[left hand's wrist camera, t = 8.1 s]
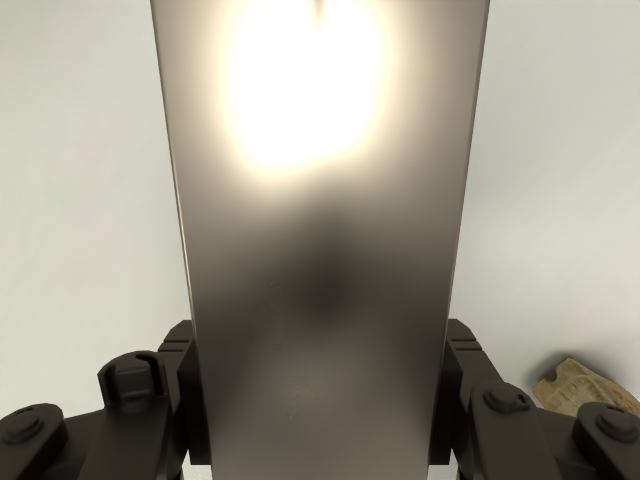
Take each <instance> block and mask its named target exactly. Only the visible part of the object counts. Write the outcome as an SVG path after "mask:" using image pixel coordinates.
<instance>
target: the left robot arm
mask: <svg viewBox="0 0 640 480" xmlns="http://www.w3.org/2000/svg"><path fill="white" fill-rule="evenodd" d="M97 376H98V380H99V384H100V388H101V392H102V396H103V401H104V405H105V407H104V409H101V410H98V411H95V412H91V413H87V414H82V415H78V416H74V417H69V418H65V419H64V416H63V412H62V410H61V409H60V408H59V407H58V406H57V405H54V404H48V403H43V404H35V405H31V406H28V407H25V408H22V409H19V410H17V411H15V412H13V413H11V414H9V415H7V416H6V417H4V418H2V419H1V420H0V480H184V477H183V470H182V464H183V461H184V459H185V456H186V453H187V451H188V450H189V456H190V463H191V465H211V463H210V455H209V448H208V440H207V433H206V425H205V417H204V410H203V402H202V394H201V387H200V379H199V371H198V364H197V356H196V348H195V341H194V333H193V325H192V320H183V321H182V322H180V323H179V324H177V325H176V326H175V327H173V328H172V329H171V330H170V331H169V333H168V334H167V336H166V338H165V339H164V342H163V343H162V344H161V345H160V347H159V348H158V352H153V351H135V352H131V353H126V354H123V355H121V356H119V357H117V358H114V359H113V360H111V361H110V362H108V363H107V364H106V365H104V366H103V367H102V369H101V370H100V371H99V373H98V374H97ZM451 448H452V449H453V452H454V455H455V457H456V460H457V463H458V470H457V476H456V480H640V418H639V417H637V416H636V415H634V414H632V413H630V412H629V411H627V410H625V409H623V408H620V407H617V406H614V405H611V404H608V403H602V402H588V403H584V404H583V405H581V406H580V407H579V408H578V411H577V414H576V417H573V416H569V415H564V414H560V413H556V412H551V411H547V410H544V409H541V408H537V407H536V406H535V404H534V403H533V401H532V400H531V398H530V397H529V396H528V395H527V394H526V393H525V392H523V391H522V390H521V389H519V388H517V387H515V386H513V385H511V384H509V383H506V382H504V381H503V380H502V378H501V377H500V375H499V374H498V372H497V370H496V369H495V367H494V366H493V364H492V363H491V361H490V360H489V358H488V357H487V355H486V353H485V352H484V351H482V347H481V346H480V344H479V343H478V341H476V338H475V336H474V335H473V333H472V332H471V330H470V329H469V328H468V327H467V326H465V325H464V324H463V323H461V322H460V321H459V320H457V319H448V324H447V331H446V339H445V347H444V354H443V362H442V369H441V377H440V384H439V392H438V400H437V407H436V415H435V422H434V430H433V438H432V445H431V453H430V460H429V465H449V461H450V454H451Z"/></svg>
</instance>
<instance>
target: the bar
mask: <svg viewBox="0 0 640 480" xmlns="http://www.w3.org/2000/svg"><path fill="white" fill-rule="evenodd" d="M150 4H151V12H152V19H153V27H154V35H155V42H156V50H157V58H158V65H159V73H160V81H161V88H162V96H163V104H164V111H165V119H166V127H167V134H168V142H169V150H170V157H171V165H172V172H173V180H174V188H175V195H176V203H177V211H178V218H179V226H180V234H181V241H182V249H183V257H184V264H185V272H186V280H187V287H188V295H189V302H190V310H191V318H192V325H193V333H194V341H195V348H196V356H197V364H198V371H199V379H200V387H201V394H202V402H203V410H204V417H205V425H206V433H207V440H208V448H209V455H210V463H211V471H212V478H213V480H427V475H428V468H429V460H430V453H431V445H432V438H433V430H434V422H435V415H436V407H437V400H438V392H439V384H440V377H441V369H442V362H443V354H444V347H445V339H446V331H447V324H448V316H449V309H450V301H451V293H452V286H453V278H454V271H455V263H456V256H457V248H458V240H459V233H460V225H461V218H462V210H463V202H464V195H465V187H466V180H467V172H468V165H469V157H470V149H471V142H472V134H473V127H474V119H475V111H476V104H477V96H478V89H479V81H480V74H481V66H482V58H483V51H484V43H485V36H486V28H487V20H488V13H489V5H490V0H150Z"/></svg>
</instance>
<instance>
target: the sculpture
mask: <svg viewBox="0 0 640 480" xmlns="http://www.w3.org/2000/svg"><path fill="white" fill-rule="evenodd" d="M556 373H557V379H556V380H555V381H554V382H552V381H550V380H548V379H542V380H541V381H540V382H538V383H537V384H536V385H535V387H534V388H533V393H534V394H535V396H536V397H537V398H538V400H539V401H540V403H541V404H542V405H543V406H544V408H545V410H547V411H551V412H556V413H560V414H564V415H569V416H573V417H576V414H577V411H578V408H579V407H580V406H581V405H583V404H584V403H588V402H602V403H608V404H611V405H614V406H617V407H620V408H623V409H625V410H627V411H629V412H630V413H632V414H634V415H636V416H637V417H639V418H640V403H639V402H638V400H637V399H636V398H635V397H634V396H632V395H631V394H630V393H629V392H628V391H626V390H625V389H623V388H622V387H620V386H619V385H617V384H615V383H613V382H611V381H610V380H608V379H606V378H603V377H601V376H599V375H597V374H595V373H594V372H592V371H591V370H589V369H588V368H586V367H584V366H583V365H581V364H580V363H578V362H577V361H575V360H574V359H571V358H567V359H566V360H565V361H563V362H562V363H561V364H559V365H558V366H557V367H556Z"/></svg>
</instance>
